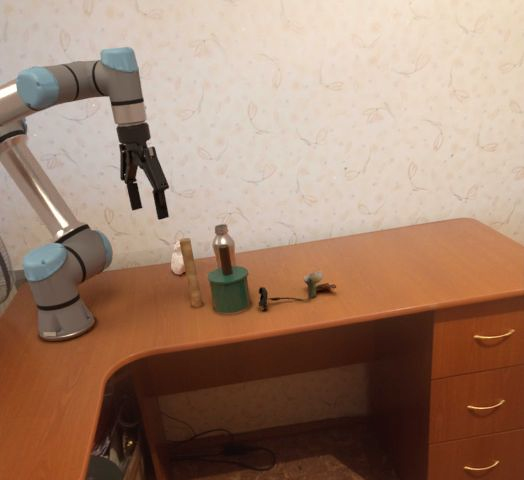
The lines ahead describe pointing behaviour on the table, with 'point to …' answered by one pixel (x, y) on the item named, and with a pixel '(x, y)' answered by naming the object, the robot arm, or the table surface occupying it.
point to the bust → (177, 260)
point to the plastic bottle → (221, 239)
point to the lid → (227, 269)
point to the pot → (230, 296)
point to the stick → (190, 271)
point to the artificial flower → (310, 281)
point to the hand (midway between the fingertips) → (149, 213)
